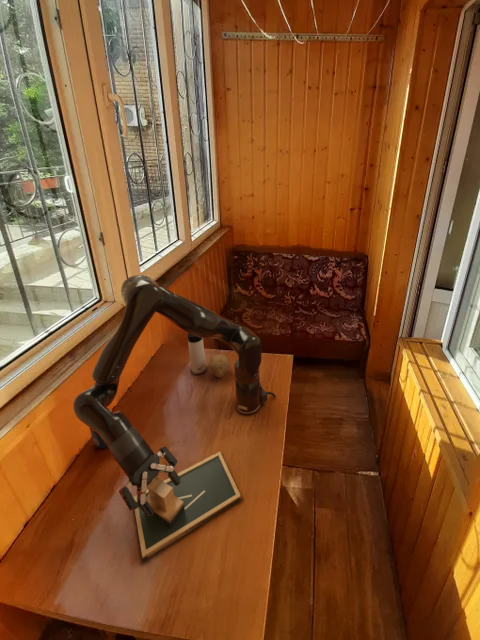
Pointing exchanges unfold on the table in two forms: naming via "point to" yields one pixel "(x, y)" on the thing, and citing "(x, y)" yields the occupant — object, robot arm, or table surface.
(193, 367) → the travel mug
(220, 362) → the natural sponge
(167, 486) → the eraser
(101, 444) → the soda can
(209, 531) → the table surface
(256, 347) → the robot arm
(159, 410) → the table surface
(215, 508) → the chalkboard
